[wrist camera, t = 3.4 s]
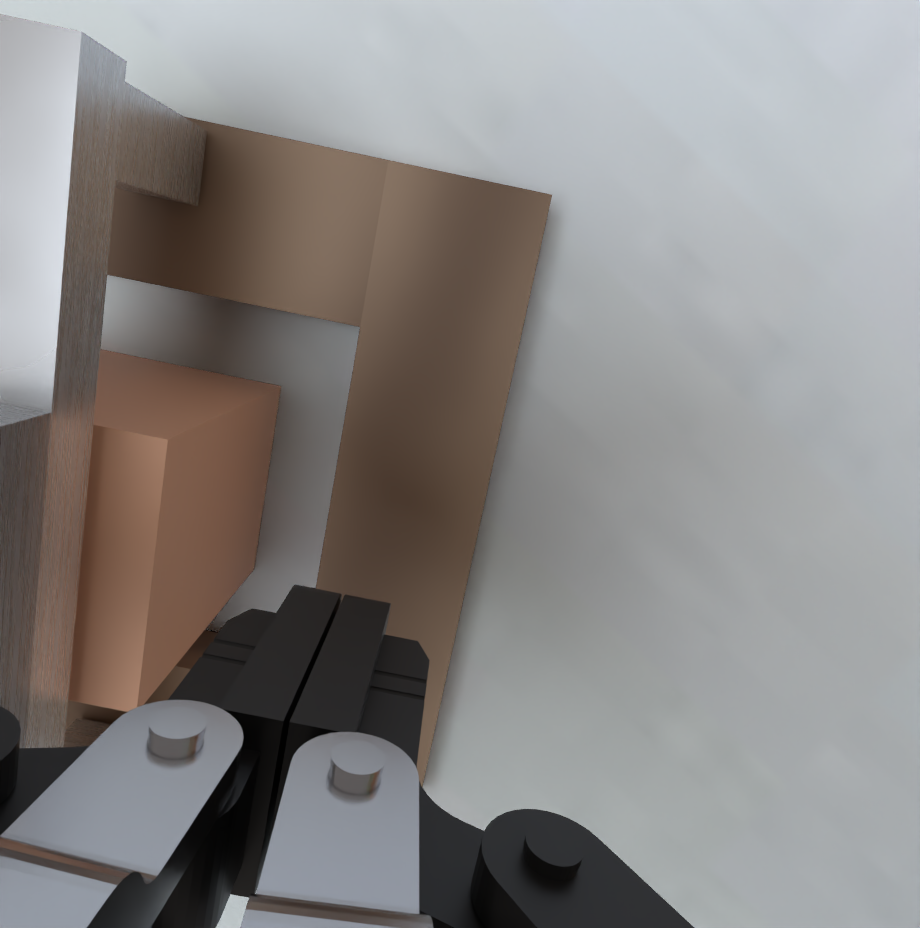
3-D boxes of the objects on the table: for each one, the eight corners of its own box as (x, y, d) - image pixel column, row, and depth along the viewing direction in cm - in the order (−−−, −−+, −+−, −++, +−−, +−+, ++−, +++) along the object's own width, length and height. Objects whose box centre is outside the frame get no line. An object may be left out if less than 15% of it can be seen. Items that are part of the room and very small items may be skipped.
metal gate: (242, 138, 15) (-14, -32, 7) (160, 787, 19) (-75, 1151, 11) (98, 107, 15) (-320, -98, 7) (42, 764, 19) (-282, 1115, 11)
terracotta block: (281, 385, 19) (167, 439, 12) (254, 569, 20) (136, 713, 13) (85, 345, 19) (-143, 376, 12) (68, 532, 20) (-148, 658, 13)
